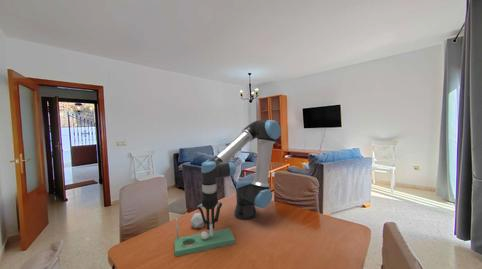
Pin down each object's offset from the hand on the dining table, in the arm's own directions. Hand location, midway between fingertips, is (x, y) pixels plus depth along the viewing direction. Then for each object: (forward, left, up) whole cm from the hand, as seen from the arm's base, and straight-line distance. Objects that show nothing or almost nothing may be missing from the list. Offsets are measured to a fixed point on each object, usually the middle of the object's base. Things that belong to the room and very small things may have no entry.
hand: (210, 235), depth 111 cm
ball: (+3, 0, +1) cm, 3 cm away
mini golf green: (+3, 0, -4) cm, 5 cm away
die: (+4, -19, -4) cm, 20 cm away
